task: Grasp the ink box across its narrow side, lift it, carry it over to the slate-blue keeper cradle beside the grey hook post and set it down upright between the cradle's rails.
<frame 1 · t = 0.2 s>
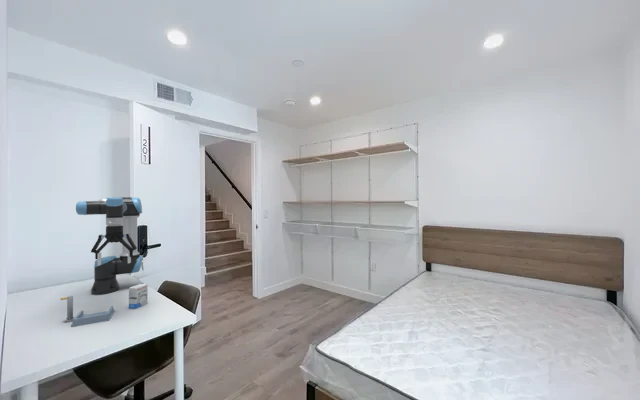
hand: (114, 264, 146), 27 cm above the table, fingers open, 13 cm apart
ink box: (138, 306, 156), on the table
keeper cradle: (94, 318, 139), on the table
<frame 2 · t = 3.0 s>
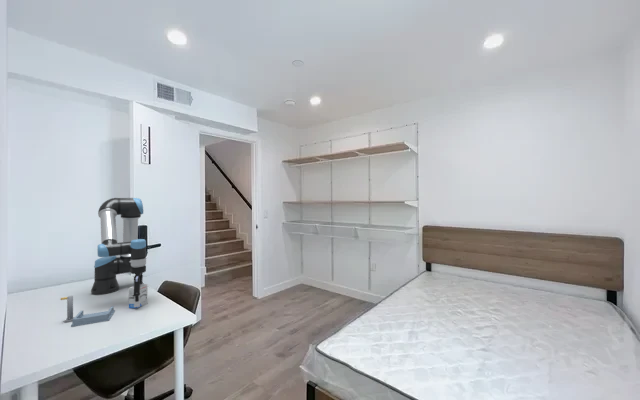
hand: (138, 303, 156), 1 cm above the table, fingers closed on ink box, 9 cm apart
ink box: (138, 306, 156), on the table, touching gripper
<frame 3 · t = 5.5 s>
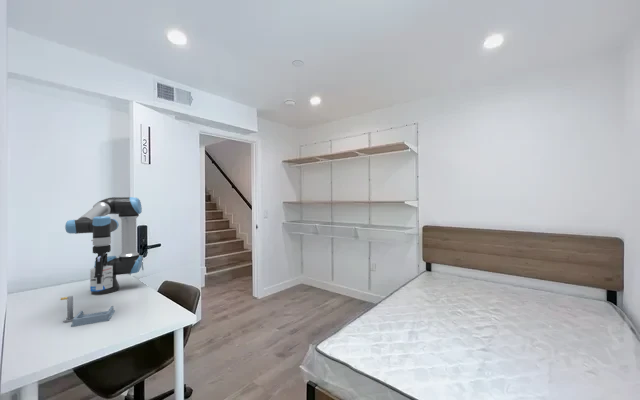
hand: (101, 287, 142), 16 cm above the table, fingers closed on ink box, 9 cm apart
ink box: (101, 289, 142), point 14 cm above the table, touching gripper
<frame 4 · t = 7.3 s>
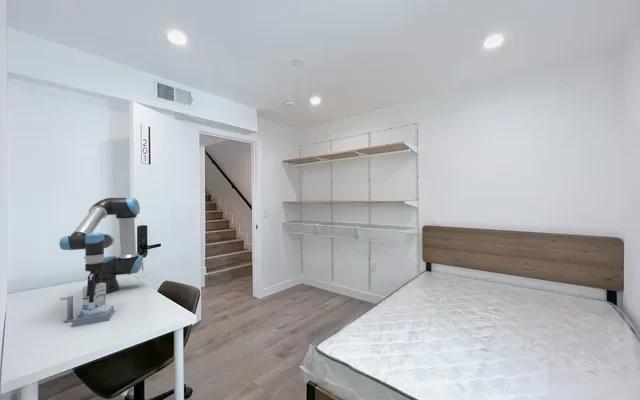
hand: (94, 305, 140), 7 cm above the table, fingers closed on ink box, 9 cm apart
ink box: (94, 307, 140), point 6 cm above the table, touching gripper
when the fingers open (3 cm above the table, at t = 8.5 s): ink box drops 2 cm, resting on keeper cradle.
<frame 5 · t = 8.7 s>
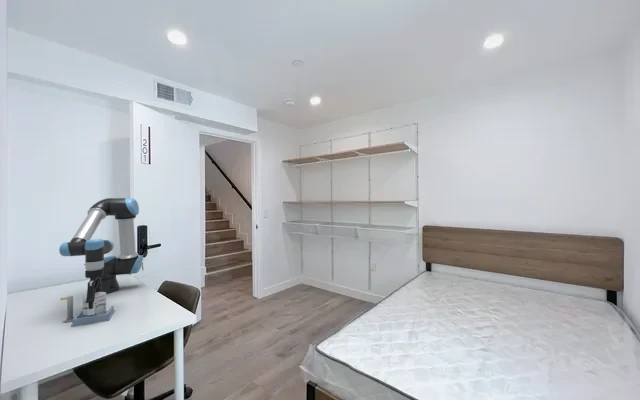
hand: (94, 310, 140), 4 cm above the table, fingers open, 11 cm apart
ink box: (94, 317, 140), point 1 cm above the table, touching keeper cradle
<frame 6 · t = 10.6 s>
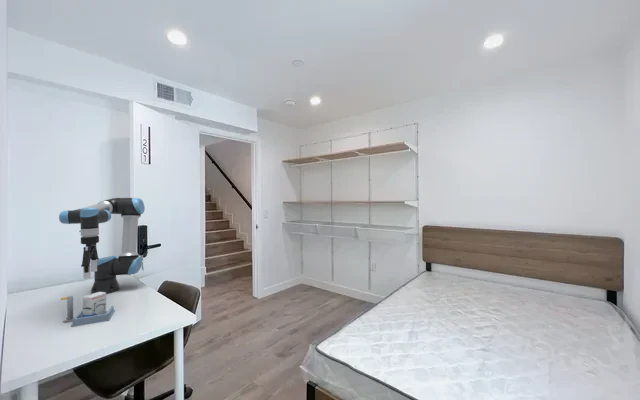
hand: (90, 274, 144), 22 cm above the table, fingers open, 13 cm apart
nothing on the table moved.
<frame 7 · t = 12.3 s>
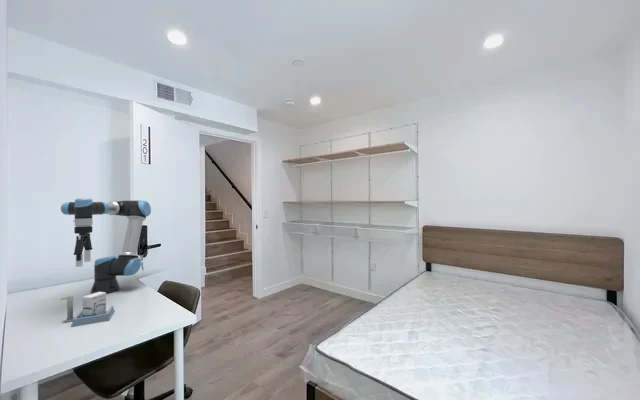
hand: (83, 264, 148), 27 cm above the table, fingers open, 13 cm apart
nothing on the table moved.
at the end: ink box inside the target area on the keeper cradle (0.1 cm from its centre), point 0.6 cm above the keeper cradle's base; ink box tilted 0°; the gripper is holding nothing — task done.
